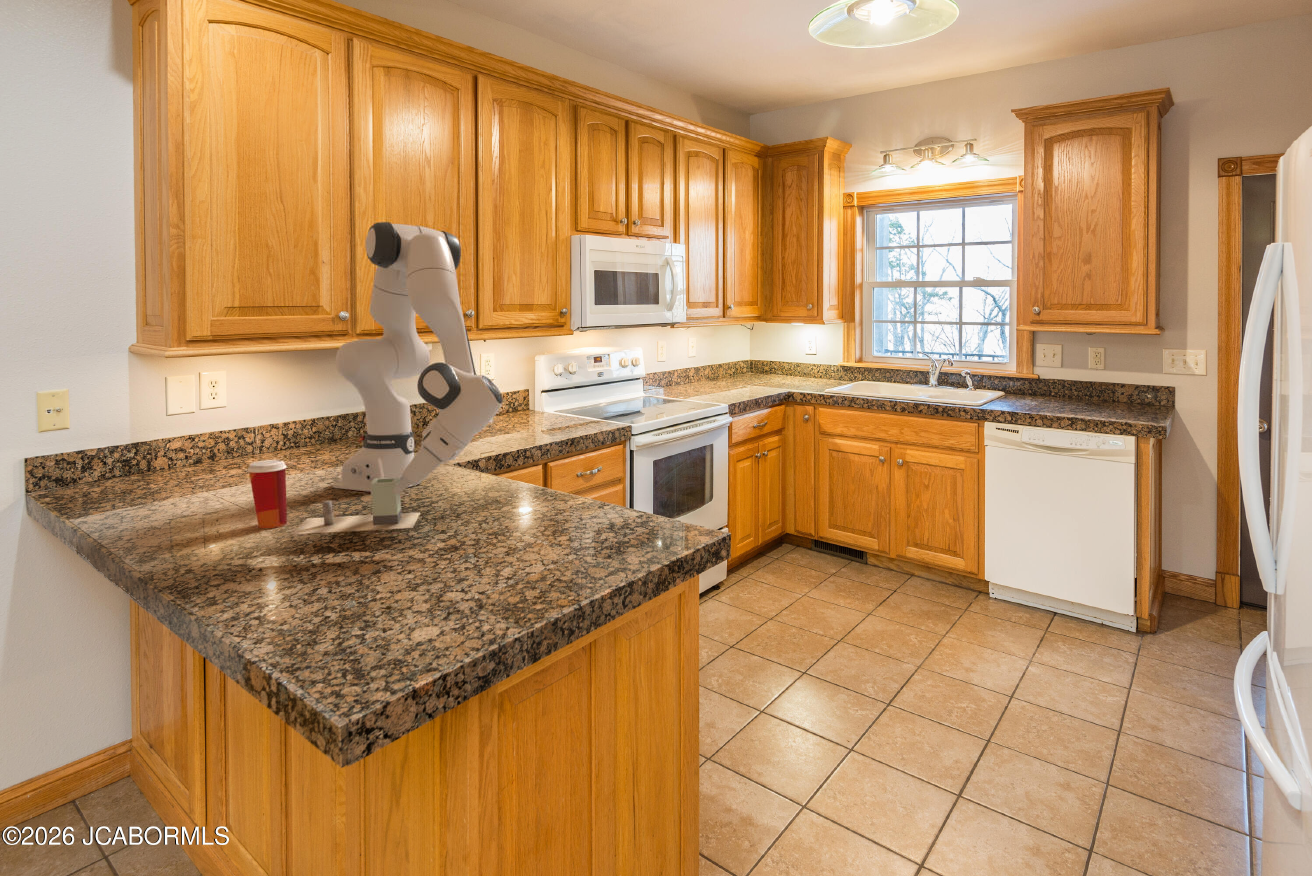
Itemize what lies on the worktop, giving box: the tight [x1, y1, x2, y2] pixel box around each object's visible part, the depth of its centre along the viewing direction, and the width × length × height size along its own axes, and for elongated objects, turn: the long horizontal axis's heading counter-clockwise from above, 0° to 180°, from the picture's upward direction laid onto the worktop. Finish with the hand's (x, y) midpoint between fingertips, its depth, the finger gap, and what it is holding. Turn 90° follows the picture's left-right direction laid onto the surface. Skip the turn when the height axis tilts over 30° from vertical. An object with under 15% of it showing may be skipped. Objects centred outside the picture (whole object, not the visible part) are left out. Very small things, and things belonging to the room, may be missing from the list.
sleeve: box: [370, 478, 402, 525], centre depth 163 cm, size 5×5×9 cm
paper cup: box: [247, 459, 288, 530], centre depth 166 cm, size 8×8×14 cm
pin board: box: [290, 500, 421, 535], centre depth 162 cm, size 24×12×6 cm, turn 100°
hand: (398, 487), depth 163 cm, fingers open, 8 cm apart
